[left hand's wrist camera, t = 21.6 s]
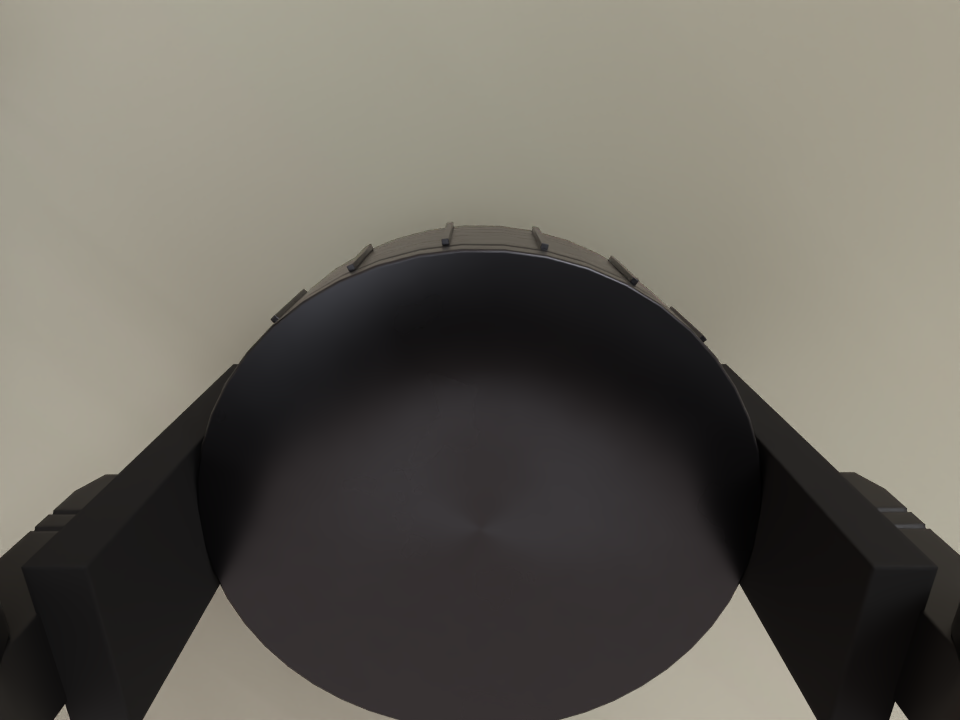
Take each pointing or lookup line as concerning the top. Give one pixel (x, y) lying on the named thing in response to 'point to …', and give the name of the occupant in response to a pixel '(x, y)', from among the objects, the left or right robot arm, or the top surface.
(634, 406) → the lid
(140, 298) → the top surface
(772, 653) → the top surface
